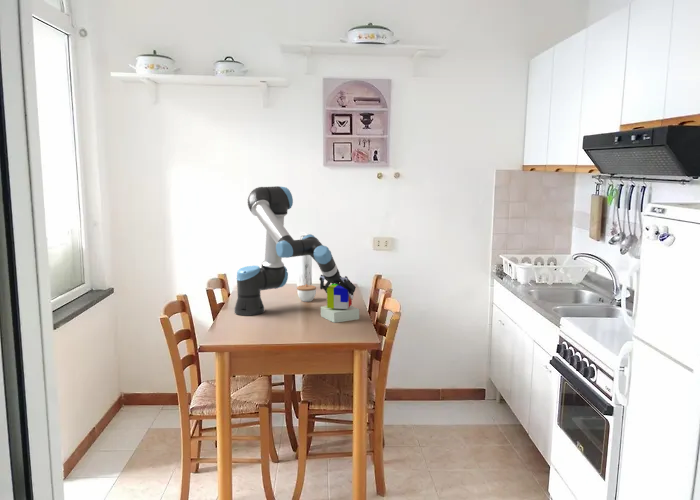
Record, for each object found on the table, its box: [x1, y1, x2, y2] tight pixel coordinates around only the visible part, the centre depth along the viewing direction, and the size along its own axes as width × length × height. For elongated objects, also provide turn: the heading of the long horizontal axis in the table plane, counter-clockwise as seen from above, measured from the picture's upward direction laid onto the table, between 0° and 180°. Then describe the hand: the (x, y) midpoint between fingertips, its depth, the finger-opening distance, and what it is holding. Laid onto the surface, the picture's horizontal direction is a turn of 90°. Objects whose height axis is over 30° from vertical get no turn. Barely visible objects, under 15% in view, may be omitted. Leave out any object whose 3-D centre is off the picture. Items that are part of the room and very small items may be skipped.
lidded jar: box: [296, 283, 317, 303], centre depth 309 cm, size 11×11×9 cm
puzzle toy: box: [326, 283, 353, 309], centre depth 271 cm, size 10×10×10 cm
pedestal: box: [320, 305, 360, 324], centre depth 273 cm, size 14×14×5 cm
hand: (341, 296), depth 274 cm, fingers closed on puzzle toy, 11 cm apart
